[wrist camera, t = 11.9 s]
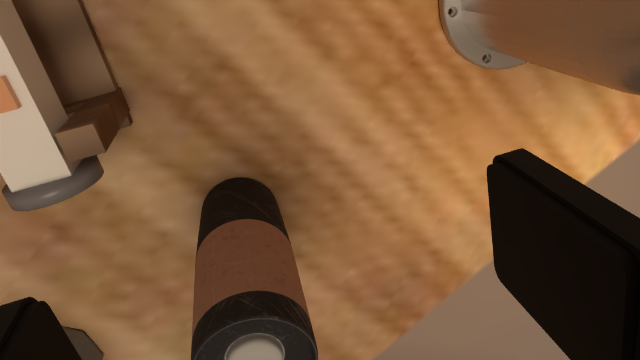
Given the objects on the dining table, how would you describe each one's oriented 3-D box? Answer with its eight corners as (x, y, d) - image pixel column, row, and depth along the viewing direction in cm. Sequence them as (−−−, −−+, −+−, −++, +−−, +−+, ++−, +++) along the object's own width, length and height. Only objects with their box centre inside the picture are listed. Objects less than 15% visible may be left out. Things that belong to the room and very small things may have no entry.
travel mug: (219, 161, 44) (223, 299, 26) (294, 192, 47) (343, 336, 29) (185, 230, 46) (166, 401, 28) (258, 256, 49) (284, 427, 31)
